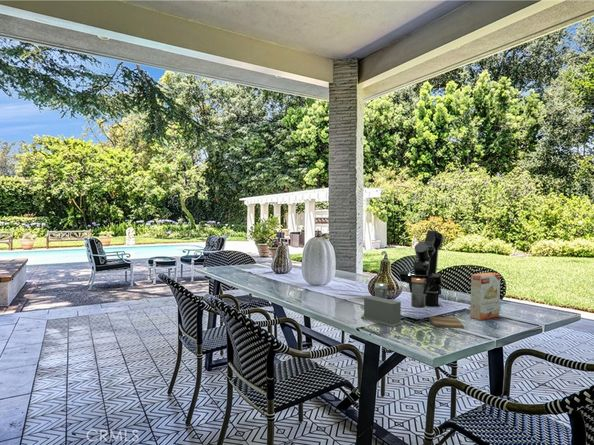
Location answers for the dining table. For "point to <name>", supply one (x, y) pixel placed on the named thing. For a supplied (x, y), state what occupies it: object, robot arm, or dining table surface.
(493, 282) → the cracker box
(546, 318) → the dining table surface
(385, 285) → the steel cartridge
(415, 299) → the copper capped grey cylinder
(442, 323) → the walnut plate
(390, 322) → the block
